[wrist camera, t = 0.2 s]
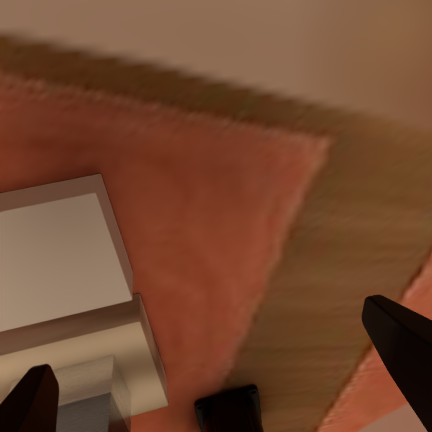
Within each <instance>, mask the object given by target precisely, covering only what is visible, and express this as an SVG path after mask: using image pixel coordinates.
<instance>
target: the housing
mask: <svg viewBox="0 0 432 432" xmlns="http://www.w3.org/2000/svg"><path fill="white" fill-rule="evenodd" d="M53 372H54V374H55V377H56V379H57V381H58V383H59V402H58V414H57V425H56V432H131V394H130V392H129V389H128V387H127V384H126V382H125V380H124V377H123V375H122V373H121V370H120V368H119V366H118V363H117V361H116V359H115V356H114V354H113V355H109V356H105V357H101V358H97V359H94V360H90V361H86V362H82V363H78V364H74V365H70V366H66V367H62V368H58V369H55V370H53ZM20 380H21V378H19V379H16V380H13V383H12V385H11V388H10V391H9V393H10V392H11V391H12V389H13V388H14V387H15V386H16V385H17V383H18V382H19V381H20Z"/></svg>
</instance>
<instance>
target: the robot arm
mask: <svg viewBox="0 0 432 432" xmlns="http://www.w3.org/2000/svg"><path fill="white" fill-rule="evenodd" d="M362 322H363V325H364V327H365V329H366V331H367V333H368V335H369V337H370V338H371V340H372V342H373V344H374V346H375V348H376V350H377V352H378V353H379V355H380V357H381V359H382V361H383V363H384V365H385V367H386V368H387V370H388V372H389V373H390V375H391V377H392V378H393V380H394V381H395V383H396V384H397V386H398V387H399V389H400V390H401V392H402V393H403V395H404V396H405V398H406V399H407V401H408V402H409V404H410V406H411V407H412V409H413V410H414V411H415V413H416V415H417V416H418V417H419V419H420V421H421V422H422V424H423V425H424V427H425V428H426V430H427V431H428V432H432V320H430V319H428V318H426V317H424V316H422V315H420V314H418V313H416V312H414V311H412V310H410V309H408V308H406V307H404V306H402V305H400V304H398V303H396V302H394V301H392V300H390V299H388V298H386V297H384V296H382V295H373V296H368V297H366V299H365V301H364V306H363V312H362ZM58 402H59V383H58V381H57V379H56V377H55V374H54V372H53V370H52V368H51V366H50V365H49V364H41V365H37V366H33V367H31V368H30V369H29V370H28V371H27V372H26V374H25V375H24V376H23V377H22V378H21V380H20V381H19V382H18V383H17V385H16V386H15V387H14V388H13V389H12V391H11V392H10V393H9V394H8V395H7V397H6V398H5V399H4V400H3V401H2V403H1V404H0V432H56V425H57V414H58ZM194 406H195V411H196V415H197V418H198V422H199V425H200V429H201V432H264V431H263V427H262V424H261V423H262V420H261V412H260V403H259V395H258V389H257V387H256V386H250V387H246V388H243V389H239V390H235V391H232V392H228V393H225V394H221V395H218V396H214V397H210V398H207V399H203V400H200V401H197V402H195V404H194Z"/></svg>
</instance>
